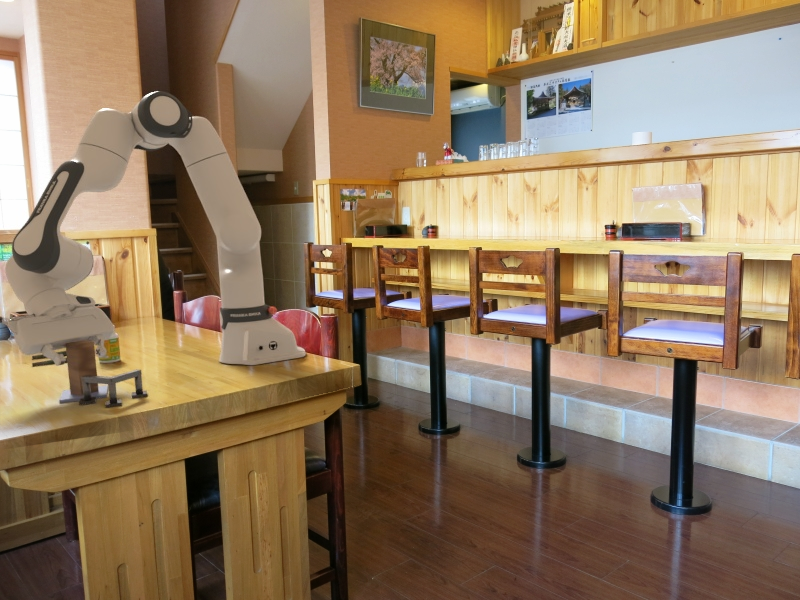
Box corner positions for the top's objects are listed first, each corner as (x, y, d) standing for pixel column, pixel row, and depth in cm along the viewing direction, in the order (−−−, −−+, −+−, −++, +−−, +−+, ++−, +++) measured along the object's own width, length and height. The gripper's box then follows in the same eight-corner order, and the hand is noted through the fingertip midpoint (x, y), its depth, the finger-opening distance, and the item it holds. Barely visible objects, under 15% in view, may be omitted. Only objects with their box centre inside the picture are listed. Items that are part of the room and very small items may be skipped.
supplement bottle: (112, 363, 175) (109, 327, 174) (94, 363, 177) (91, 327, 175) (124, 359, 181) (121, 324, 180) (107, 359, 182) (104, 324, 181)
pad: (107, 387, 148) (107, 385, 148) (106, 397, 140) (106, 394, 140) (63, 393, 145) (63, 390, 145) (59, 403, 137) (59, 400, 137)
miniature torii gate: (31, 352, 190) (88, 343, 197) (33, 360, 191) (89, 351, 198) (32, 366, 172) (94, 355, 179) (33, 374, 172) (95, 364, 179)
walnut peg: (87, 389, 145) (82, 340, 144) (98, 391, 143) (93, 341, 142) (70, 393, 142) (65, 343, 141) (81, 395, 140) (76, 344, 139)
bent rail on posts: (146, 393, 142) (144, 367, 142) (148, 402, 135) (145, 375, 134) (80, 401, 137) (77, 375, 137) (77, 411, 130) (75, 383, 129)
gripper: (8, 308, 135) (39, 359, 131) (99, 296, 152) (129, 341, 148) (-1, 328, 138) (29, 378, 134) (89, 314, 155) (119, 358, 151)
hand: (82, 358), depth 141 cm, fingers open, 8 cm apart
